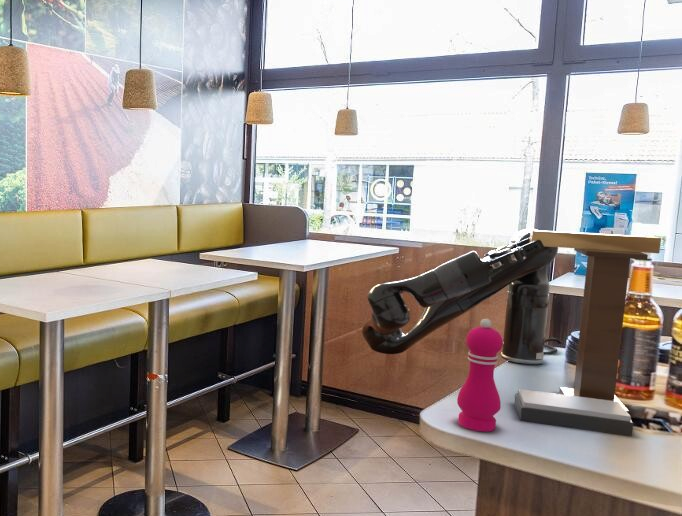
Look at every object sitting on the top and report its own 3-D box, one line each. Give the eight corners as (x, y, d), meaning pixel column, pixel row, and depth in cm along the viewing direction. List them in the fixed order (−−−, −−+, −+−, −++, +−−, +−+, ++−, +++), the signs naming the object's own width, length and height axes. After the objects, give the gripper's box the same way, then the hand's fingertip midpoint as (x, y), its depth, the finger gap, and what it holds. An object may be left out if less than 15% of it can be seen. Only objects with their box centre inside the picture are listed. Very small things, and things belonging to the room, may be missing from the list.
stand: (558, 393, 149) (574, 245, 146) (613, 400, 146) (630, 248, 142) (569, 410, 138) (586, 250, 135) (628, 418, 135) (647, 254, 131)
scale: (514, 404, 141) (515, 387, 140) (617, 418, 135) (619, 401, 134) (520, 420, 132) (522, 402, 131) (632, 436, 125) (634, 417, 125)
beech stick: (529, 244, 145) (530, 229, 144) (654, 252, 137) (656, 236, 137) (531, 245, 142) (532, 230, 142) (659, 253, 134) (661, 238, 134)
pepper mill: (461, 415, 133) (471, 313, 131) (502, 425, 128) (513, 319, 126) (450, 425, 127) (459, 318, 125) (492, 436, 123) (503, 325, 121)
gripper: (467, 286, 155) (542, 255, 149) (471, 296, 142) (554, 262, 136) (452, 256, 155) (526, 223, 150) (454, 263, 142) (535, 227, 136)
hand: (539, 242), depth 143 cm, fingers open, 8 cm apart
